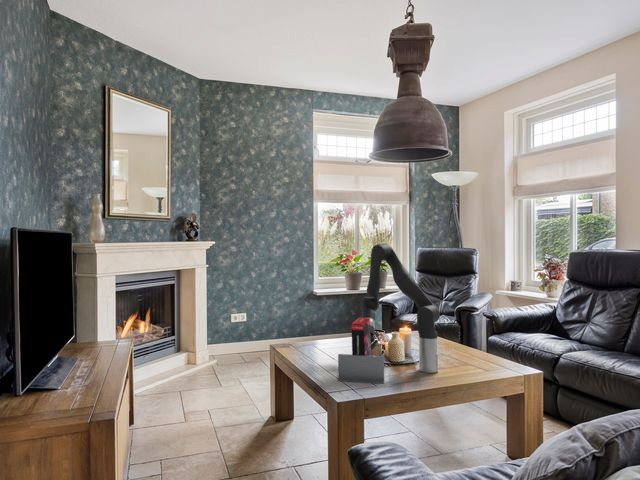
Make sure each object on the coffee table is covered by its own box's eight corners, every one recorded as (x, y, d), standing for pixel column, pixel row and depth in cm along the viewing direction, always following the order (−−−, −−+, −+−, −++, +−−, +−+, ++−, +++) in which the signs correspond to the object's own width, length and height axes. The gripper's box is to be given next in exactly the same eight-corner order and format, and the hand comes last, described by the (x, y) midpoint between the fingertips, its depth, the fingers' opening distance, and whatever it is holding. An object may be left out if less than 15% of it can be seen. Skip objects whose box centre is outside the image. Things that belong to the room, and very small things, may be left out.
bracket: (385, 375, 233) (385, 351, 232) (383, 383, 219) (383, 358, 219) (342, 372, 237) (341, 349, 237) (337, 381, 224) (337, 356, 224)
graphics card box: (365, 380, 225) (365, 323, 225) (351, 379, 227) (350, 323, 227) (371, 370, 242) (370, 317, 241) (358, 369, 243) (357, 317, 243)
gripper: (355, 323, 253) (351, 351, 242) (379, 324, 251) (377, 353, 239) (356, 331, 259) (353, 359, 247) (380, 332, 256) (378, 360, 244)
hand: (365, 356), depth 243 cm, fingers closed
